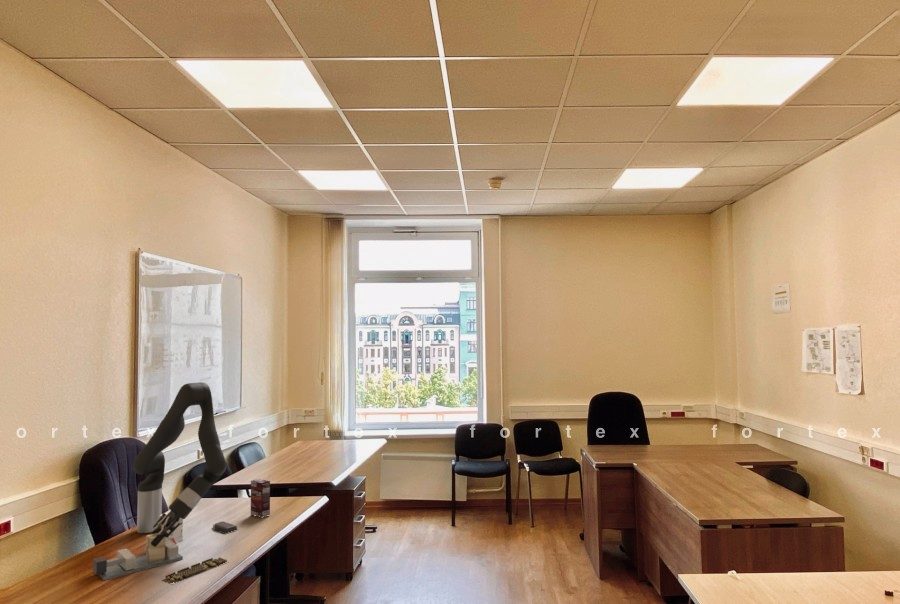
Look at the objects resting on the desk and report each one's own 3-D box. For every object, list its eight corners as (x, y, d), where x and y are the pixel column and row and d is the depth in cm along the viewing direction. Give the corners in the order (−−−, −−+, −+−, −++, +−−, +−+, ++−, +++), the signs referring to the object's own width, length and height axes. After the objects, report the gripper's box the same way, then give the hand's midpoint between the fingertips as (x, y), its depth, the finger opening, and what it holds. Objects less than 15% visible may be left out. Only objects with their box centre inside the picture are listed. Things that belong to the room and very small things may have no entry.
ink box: (168, 547, 213) (168, 516, 214) (157, 547, 214) (157, 516, 215) (183, 539, 222) (183, 510, 223) (172, 539, 223) (173, 509, 224)
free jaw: (90, 568, 191) (91, 556, 191) (126, 559, 198) (126, 547, 199) (98, 577, 182) (98, 565, 183) (135, 568, 190) (135, 556, 190)
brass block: (146, 558, 200) (146, 535, 201) (160, 554, 203) (161, 532, 204) (149, 561, 196) (150, 538, 197) (164, 557, 200) (165, 535, 200)
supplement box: (249, 515, 253) (250, 480, 254) (258, 513, 256) (259, 478, 258) (261, 518, 248) (261, 482, 249) (270, 515, 252) (270, 480, 253)
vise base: (95, 570, 192) (96, 555, 192) (171, 551, 209) (172, 537, 209) (103, 580, 183) (104, 565, 184) (182, 559, 200) (182, 545, 201)
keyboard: (172, 587, 178) (172, 580, 178) (157, 581, 183) (157, 575, 183) (230, 563, 197) (230, 557, 197) (215, 559, 201) (215, 553, 202)
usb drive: (225, 534, 228) (225, 528, 228) (210, 529, 235) (210, 522, 236) (237, 531, 232) (237, 524, 232) (222, 526, 239) (222, 519, 240)
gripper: (171, 493, 212) (136, 533, 202) (184, 500, 201) (148, 542, 192) (186, 504, 215) (152, 544, 206) (199, 512, 205) (164, 554, 195)
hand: (150, 543), depth 199 cm, fingers open, 5 cm apart
